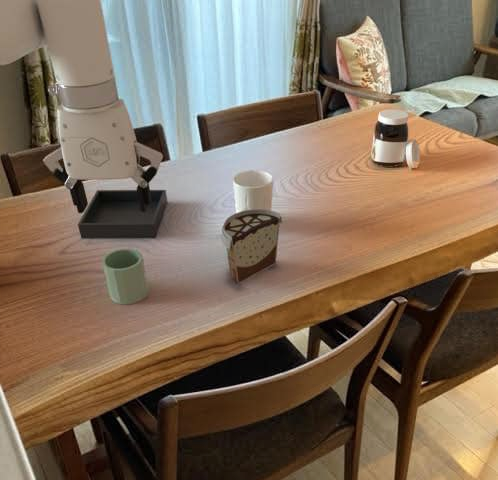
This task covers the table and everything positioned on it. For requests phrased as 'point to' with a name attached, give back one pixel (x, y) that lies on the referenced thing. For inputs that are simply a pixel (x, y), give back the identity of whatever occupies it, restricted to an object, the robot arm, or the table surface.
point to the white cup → (253, 190)
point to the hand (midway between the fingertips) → (114, 208)
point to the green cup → (125, 276)
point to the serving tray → (122, 215)
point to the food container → (251, 242)
